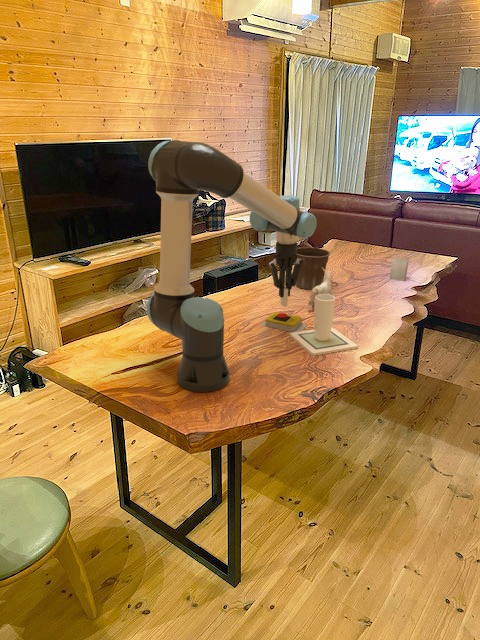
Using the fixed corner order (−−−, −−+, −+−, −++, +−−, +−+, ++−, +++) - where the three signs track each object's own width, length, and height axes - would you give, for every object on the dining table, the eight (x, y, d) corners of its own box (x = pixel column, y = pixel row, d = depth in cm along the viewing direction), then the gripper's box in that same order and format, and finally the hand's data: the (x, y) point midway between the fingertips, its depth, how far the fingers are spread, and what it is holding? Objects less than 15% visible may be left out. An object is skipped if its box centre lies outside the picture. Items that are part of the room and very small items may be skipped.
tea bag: (403, 281, 232) (406, 260, 228) (389, 278, 235) (392, 258, 231) (405, 279, 235) (408, 259, 231) (391, 276, 238) (394, 256, 234)
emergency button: (271, 307, 186) (308, 315, 179) (271, 318, 187) (307, 326, 181) (260, 315, 178) (299, 323, 172) (260, 326, 180) (298, 335, 173)
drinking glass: (309, 340, 165) (312, 298, 160) (315, 333, 171) (318, 292, 165) (328, 344, 162) (332, 302, 157) (334, 336, 168) (338, 295, 162)
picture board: (312, 356, 157) (313, 353, 156) (289, 335, 171) (289, 332, 171) (357, 348, 162) (358, 345, 162) (331, 329, 177) (331, 326, 177)
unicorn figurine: (335, 299, 206) (338, 269, 201) (324, 315, 190) (326, 282, 185) (319, 297, 209) (321, 267, 204) (306, 312, 193) (308, 279, 187)
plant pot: (334, 289, 218) (337, 254, 212) (302, 293, 213) (304, 257, 207) (315, 279, 232) (318, 246, 226) (285, 282, 227) (287, 248, 221)
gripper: (274, 245, 164) (272, 310, 173) (308, 242, 168) (304, 306, 177) (265, 240, 170) (263, 303, 180) (298, 237, 175) (295, 299, 184)
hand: (283, 304), depth 178 cm, fingers closed
